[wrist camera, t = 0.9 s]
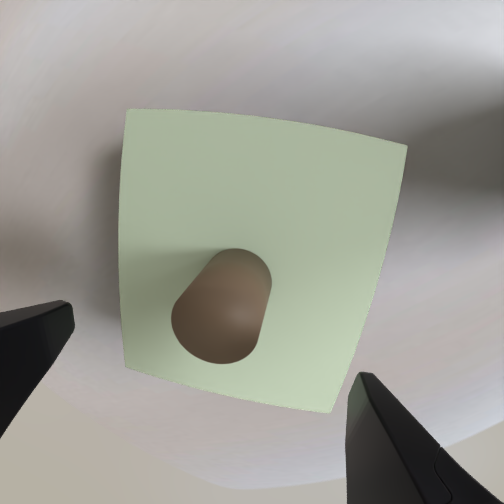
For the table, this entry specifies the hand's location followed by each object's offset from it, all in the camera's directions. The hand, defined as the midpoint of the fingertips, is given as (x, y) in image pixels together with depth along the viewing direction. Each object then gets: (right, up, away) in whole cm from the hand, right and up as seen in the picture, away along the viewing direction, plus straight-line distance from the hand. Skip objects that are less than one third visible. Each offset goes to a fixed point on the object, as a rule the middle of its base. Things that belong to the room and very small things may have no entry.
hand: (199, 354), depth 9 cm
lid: (+1, +2, +7) cm, 7 cm away
